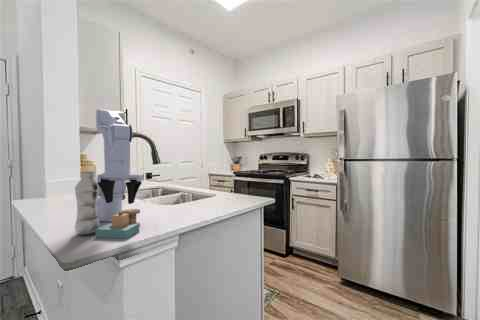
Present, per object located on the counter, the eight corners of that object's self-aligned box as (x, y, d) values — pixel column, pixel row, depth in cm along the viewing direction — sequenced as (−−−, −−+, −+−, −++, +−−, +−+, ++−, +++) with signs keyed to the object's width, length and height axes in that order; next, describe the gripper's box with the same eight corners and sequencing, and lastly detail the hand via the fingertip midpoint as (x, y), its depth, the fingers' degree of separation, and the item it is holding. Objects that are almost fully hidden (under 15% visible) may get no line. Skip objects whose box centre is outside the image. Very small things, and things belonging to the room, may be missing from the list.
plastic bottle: (88, 238, 67) (88, 172, 67) (69, 236, 69) (69, 172, 68) (104, 231, 74) (104, 171, 74) (87, 229, 75) (87, 171, 75)
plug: (111, 234, 71) (111, 213, 71) (118, 231, 74) (118, 210, 74) (122, 235, 70) (122, 213, 70) (128, 231, 74) (128, 211, 74)
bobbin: (115, 229, 75) (115, 212, 75) (127, 223, 82) (127, 208, 82) (133, 230, 75) (133, 213, 75) (143, 224, 81) (143, 209, 81)
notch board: (95, 237, 68) (95, 229, 68) (111, 229, 75) (111, 222, 75) (126, 238, 67) (126, 230, 67) (138, 231, 74) (138, 223, 74)
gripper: (90, 161, 69) (90, 204, 69) (134, 161, 67) (134, 206, 67) (106, 160, 76) (106, 200, 76) (146, 161, 74) (146, 201, 74)
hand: (120, 202), depth 72 cm, fingers open, 7 cm apart
